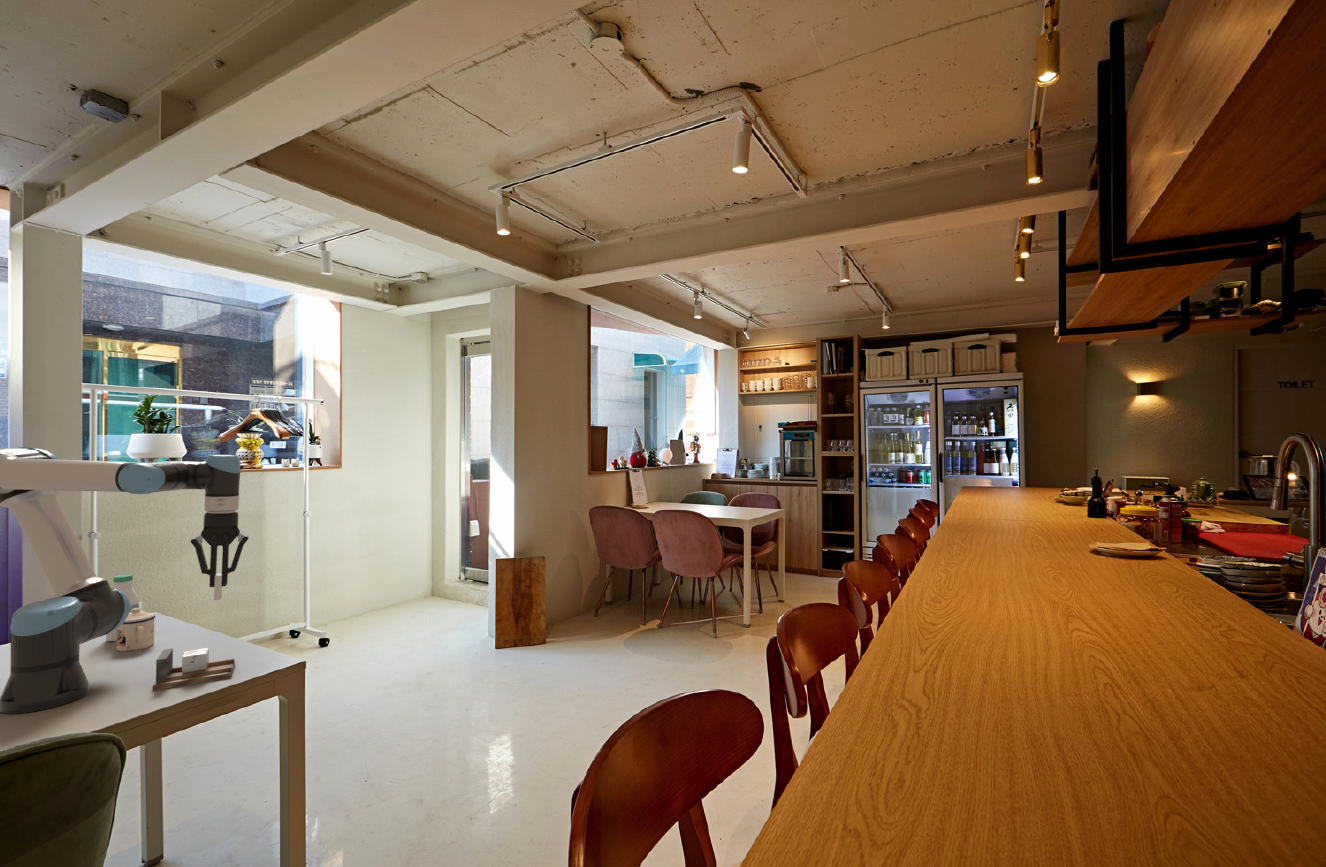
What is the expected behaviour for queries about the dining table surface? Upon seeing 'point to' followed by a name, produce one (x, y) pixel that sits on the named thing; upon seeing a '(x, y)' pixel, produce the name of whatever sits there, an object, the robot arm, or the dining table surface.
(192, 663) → the white box
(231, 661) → the gauge board
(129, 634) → the teacup with lid
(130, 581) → the milk bottle
